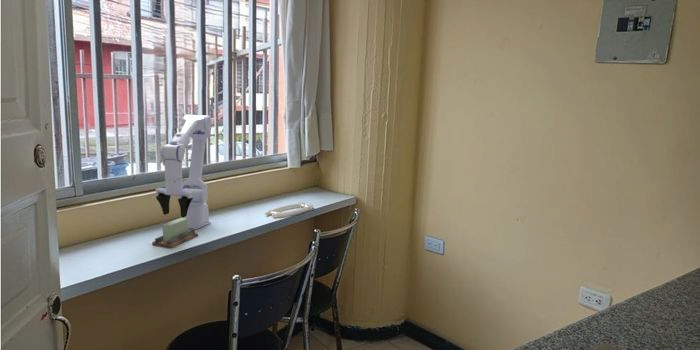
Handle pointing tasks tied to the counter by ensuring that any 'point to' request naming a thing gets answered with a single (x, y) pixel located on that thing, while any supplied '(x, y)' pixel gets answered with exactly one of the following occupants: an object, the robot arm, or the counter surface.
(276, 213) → the white rectangular tray
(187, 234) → the cabinet track
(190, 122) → the robot arm
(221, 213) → the counter surface
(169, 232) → the pale green block
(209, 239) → the counter surface
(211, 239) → the counter surface
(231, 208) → the counter surface
